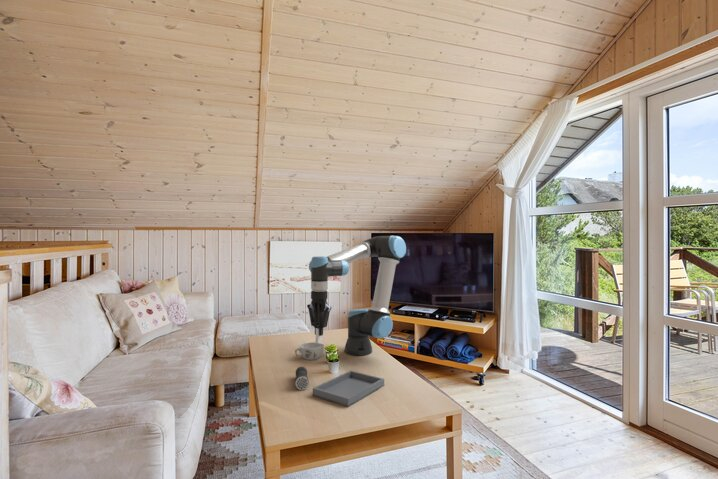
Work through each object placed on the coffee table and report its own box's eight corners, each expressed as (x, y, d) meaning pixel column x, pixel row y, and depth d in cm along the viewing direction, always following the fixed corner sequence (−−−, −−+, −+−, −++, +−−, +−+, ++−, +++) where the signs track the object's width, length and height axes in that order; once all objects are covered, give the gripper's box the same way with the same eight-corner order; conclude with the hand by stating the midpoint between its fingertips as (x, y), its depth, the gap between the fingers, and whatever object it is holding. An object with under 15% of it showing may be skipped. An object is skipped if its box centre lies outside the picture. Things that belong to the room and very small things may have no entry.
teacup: (321, 355, 206) (321, 341, 206) (325, 362, 194) (326, 347, 194) (293, 358, 202) (293, 343, 202) (296, 365, 190) (296, 349, 190)
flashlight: (303, 379, 173) (293, 374, 173) (308, 368, 174) (298, 363, 173) (305, 391, 158) (293, 387, 157) (310, 379, 159) (298, 374, 158)
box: (350, 377, 174) (350, 370, 174) (384, 385, 164) (384, 378, 164) (312, 395, 153) (312, 388, 153) (348, 406, 142) (348, 398, 142)
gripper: (303, 290, 173) (302, 341, 173) (324, 292, 165) (324, 346, 165) (314, 288, 179) (313, 338, 179) (335, 290, 172) (335, 342, 171)
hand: (318, 342), depth 172 cm, fingers closed
